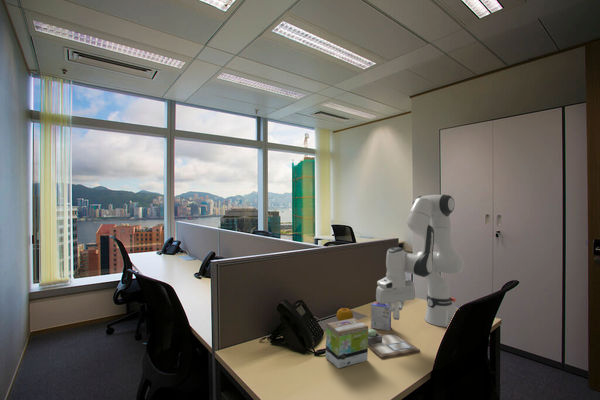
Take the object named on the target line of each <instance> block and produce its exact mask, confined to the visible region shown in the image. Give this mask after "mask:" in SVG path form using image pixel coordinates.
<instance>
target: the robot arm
mask: <svg viewBox="0 0 600 400" xmlns="http://www.w3.org/2000/svg"><path fill="white" fill-rule="evenodd" d="M454 209H455V199H454V198H453V197H452V196H451V195H450V194H429V195H419V196H417V197H415V198H414V199H413V201H412V206H411V208H410V211H409V213H408V215H407V220H406V224H407V227H408V228H409V229H410V231H412V232H413V233H414V234H416V235H418V236H420V237H422V247H421V251H418V252H417V253H410V252H407V251H404V248H403V247H399V246H396V247H390V248H388V249H387V251H386V258H385V267H386V273H385V276H384V277H383V278H381V279H379V280H377V281H376V284H377V287H376V289H375V290H376V291H375V300H376V303H380V304H388V305H389V307H390V311H391V312H393V311H395V310H394V309H395V308H394V307H393V302H399V311H403V307H404V305H405V302H406V301H414V300H415V298H416V290H415V283H414V281H413V280H411V279H408V280H406V273H407V274H412V275H416V276H418V277H422V278H425V279H426V284H427V294H426V302H427V304H426V311H425V317H424V321H425V322H427V323H428V324H430V325H432V326H433V325H434V326H436V327H437V326H438V327H444V328H448V325H449V323H450V321H451V319H452V317H453V315H454V313H455V312H456V310H457V309H459V308H458V307H457V306H456V305H454V304H453V303H455V302H456V301H457V299H456V298H455V297H451V296H450V284H449V282H448V281H447V279H445V278H444V277H442V276H441V275H440V273H444V274H454V275H455V274H460V273H461V272H463V270H464V269H465V262H464V261H465V260H464V259H463V258H462V256H461V255H459V253H457V252H456V250H455V248H454V247H453V244H452V241H451V239H452V238H451V226H452V225H451V216H450V215H451V214H452V213H453V211H454ZM434 246H435V247H436V248H437V249H438V251H434Z"/></svg>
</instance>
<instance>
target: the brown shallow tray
mask: <svg viewBox="0 0 600 400" xmlns="http://www.w3.org/2000/svg"><path fill="white" fill-rule="evenodd" d="M368 350H370V351H371V352H373V353H374V354H375V355H376V356H377V357H378V358H379V359H380V360H382V359H388V358H394V357H399V356H404V355H411V354H416V353H420V351H421V349H420V348H418V347H417V346H415V345H414V344H412V343H411V342H410V341H408V340H406V339H405V338H403V337H402V336H401V335H399V334H398V333H396V332H391V333H390V332H389V333H383V334H381V333H379V332H378V331H376V336H374V337H369V336H368Z"/></svg>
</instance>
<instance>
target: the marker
mask: <svg viewBox="0 0 600 400" xmlns="http://www.w3.org/2000/svg"><path fill="white" fill-rule="evenodd" d="M399 304H400V302H393V305H392V306H393V307H394V308H395V309H394V310H395V311H392V318H393V320H395V321H396V320H397V321H399V319H400V318H401V317H400V315H401V314H400V310H399Z"/></svg>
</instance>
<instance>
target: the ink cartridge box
mask: <svg viewBox="0 0 600 400" xmlns="http://www.w3.org/2000/svg"><path fill="white" fill-rule="evenodd" d="M370 318H371V319H370V329H374V330H381V331H386V332H390V331H391V330H392V311H390V307H389V305H388V303H385V304H380V303H378V302H372V303H371V305H370Z"/></svg>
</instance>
